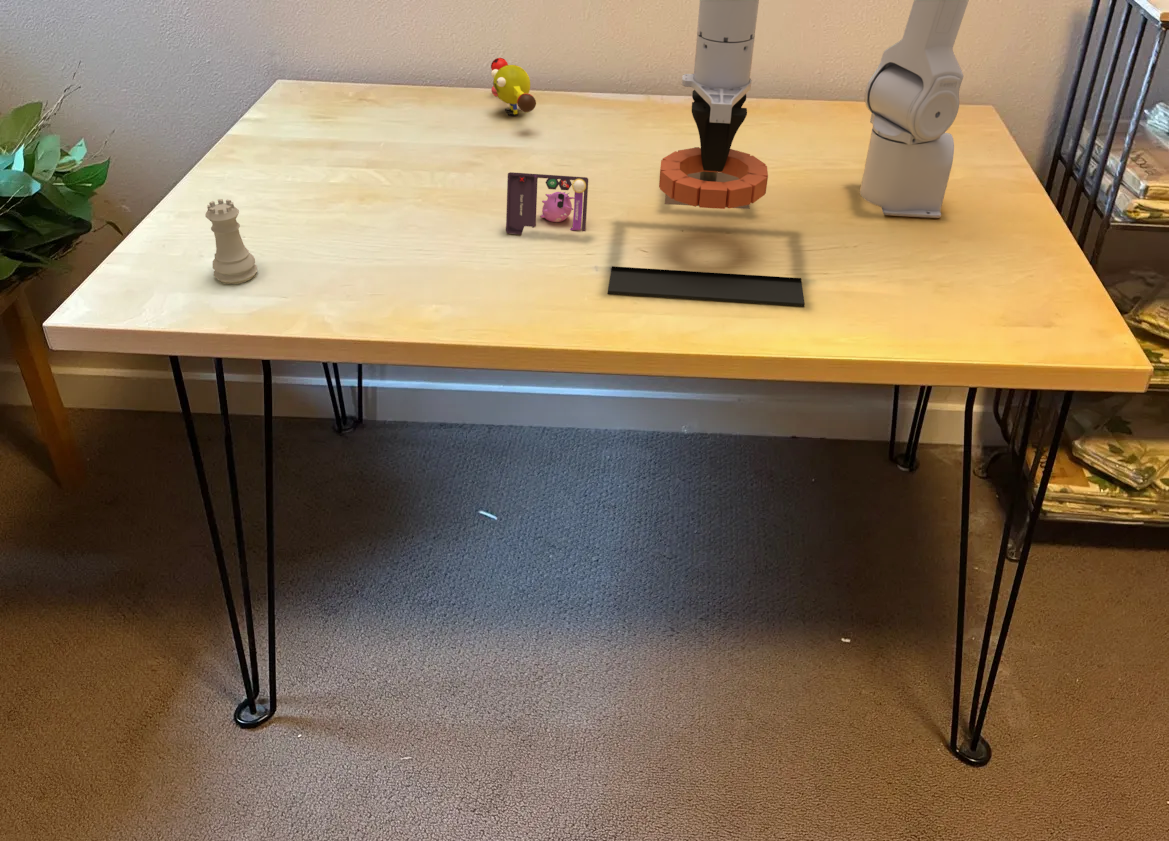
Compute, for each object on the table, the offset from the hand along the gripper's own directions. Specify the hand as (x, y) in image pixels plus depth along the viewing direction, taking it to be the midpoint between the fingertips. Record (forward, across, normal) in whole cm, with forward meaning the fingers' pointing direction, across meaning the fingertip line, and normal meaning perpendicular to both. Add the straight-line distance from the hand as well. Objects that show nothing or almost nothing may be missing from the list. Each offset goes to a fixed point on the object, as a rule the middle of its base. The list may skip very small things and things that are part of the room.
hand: (712, 164), depth 105 cm
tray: (+9, +6, 0) cm, 11 cm away
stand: (+9, -11, 0) cm, 14 cm away
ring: (0, +4, 0) cm, 4 cm away
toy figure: (+9, -35, -28) cm, 46 cm away
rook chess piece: (+9, +15, -49) cm, 52 cm away
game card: (+9, 0, -18) cm, 20 cm away
